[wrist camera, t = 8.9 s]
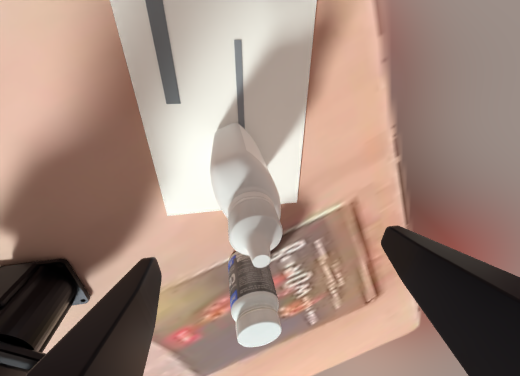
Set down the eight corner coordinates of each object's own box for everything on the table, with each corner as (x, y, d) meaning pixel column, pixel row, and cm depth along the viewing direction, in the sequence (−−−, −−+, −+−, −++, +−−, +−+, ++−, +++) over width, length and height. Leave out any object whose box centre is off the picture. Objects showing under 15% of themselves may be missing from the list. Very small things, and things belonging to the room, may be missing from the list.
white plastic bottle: (267, 123, 17) (333, 198, 7) (261, 183, 20) (302, 302, 10) (213, 120, 17) (198, 198, 6) (214, 182, 19) (204, 311, 9)
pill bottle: (223, 251, 24) (226, 329, 17) (263, 241, 24) (283, 313, 17) (232, 278, 26) (238, 355, 19) (268, 268, 27) (288, 341, 20)
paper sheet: (296, 200, 22) (297, 202, 22) (168, 214, 20) (167, 216, 20) (318, -33, 14) (320, -35, 13) (98, -51, 12) (94, -54, 11)
